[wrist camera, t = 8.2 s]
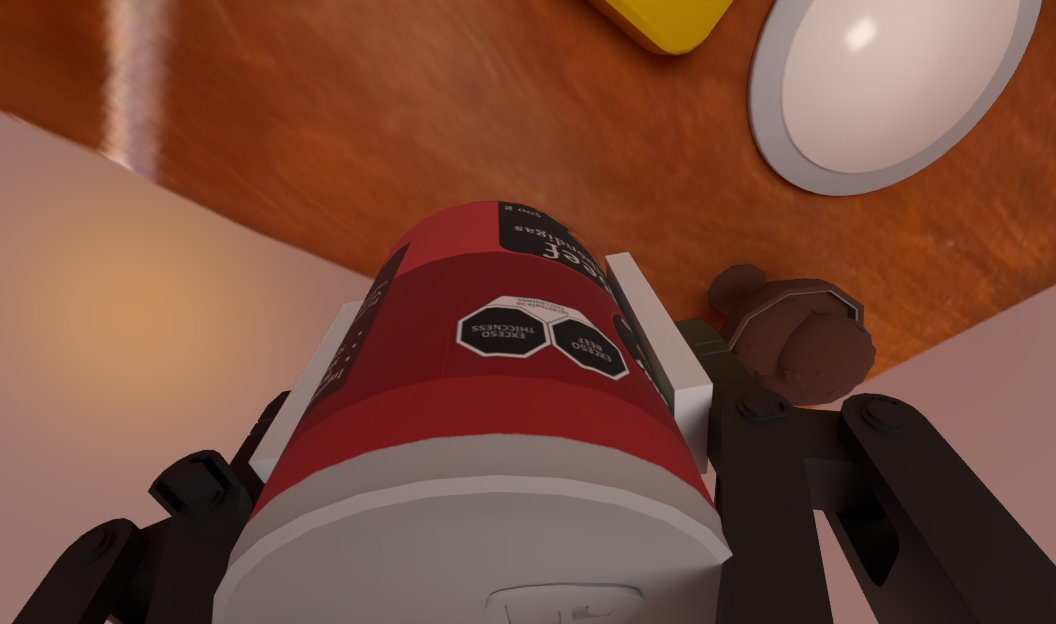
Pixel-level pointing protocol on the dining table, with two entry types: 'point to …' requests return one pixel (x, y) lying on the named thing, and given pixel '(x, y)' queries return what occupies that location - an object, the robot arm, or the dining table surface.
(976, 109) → the dish
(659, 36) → the element tile
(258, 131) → the dining table surface
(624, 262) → the robot arm
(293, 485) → the canned food
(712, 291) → the ice cream bowl
